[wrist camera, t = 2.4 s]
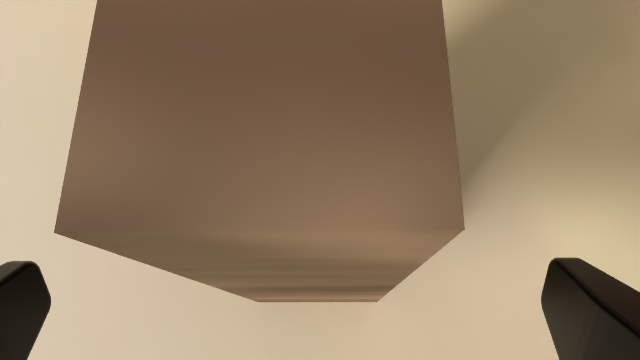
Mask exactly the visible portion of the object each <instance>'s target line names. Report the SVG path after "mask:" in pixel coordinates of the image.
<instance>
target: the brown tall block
mask: <svg viewBox="0 0 640 360" xmlns="http://www.w3.org/2000/svg"><path fill="white" fill-rule="evenodd" d="M464 229H465V227H464V217H463V207H462V197H461V187H460V177H459V167H458V157H457V147H456V137H455V127H454V117H453V107H452V98H451V88H450V78H449V68H448V58H447V48H446V38H445V28H444V18H443V8H442V0H97V5H96V10H95V15H94V21H93V26H92V31H91V37H90V42H89V48H88V53H87V58H86V64H85V69H84V75H83V80H82V85H81V91H80V96H79V101H78V107H77V112H76V118H75V123H74V128H73V134H72V139H71V144H70V150H69V155H68V161H67V166H66V171H65V177H64V182H63V187H62V193H61V198H60V204H59V209H58V214H57V220H56V225H55V230H54V233H57V234H60V235H63V236H65V237H68V238H71V239H74V240H77V241H80V242H83V243H86V244H89V245H92V246H95V247H98V248H101V249H104V250H107V251H110V252H113V253H115V254H118V255H121V256H124V257H127V258H130V259H133V260H136V261H139V262H142V263H145V264H148V265H151V266H154V267H157V268H160V269H163V270H166V271H168V272H171V273H174V274H177V275H180V276H183V277H186V278H189V279H192V280H195V281H198V282H201V283H204V284H207V285H210V286H213V287H216V288H218V289H221V290H224V291H227V292H230V293H233V294H236V295H239V296H242V297H245V298H248V299H251V300H254V301H257V302H377V301H378V300H380V299H381V298H382V297H383V296H384V295H386V294H387V293H388V292H389V291H390V290H392V289H393V288H394V287H395V286H396V285H398V284H399V283H400V282H401V281H402V280H404V279H405V278H406V277H407V276H409V275H410V274H411V273H412V272H413V271H415V270H416V269H417V268H418V267H419V266H421V265H422V264H423V263H424V262H425V261H427V260H428V259H429V258H430V257H431V256H433V255H434V254H435V253H436V252H437V251H439V250H440V249H441V248H442V247H444V246H445V245H446V244H447V243H448V242H450V241H451V240H452V239H453V238H454V237H456V236H457V235H458V234H459V233H460V232H462V231H463V230H464Z"/></svg>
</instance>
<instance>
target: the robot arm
mask: <svg viewBox="0 0 640 360" xmlns="http://www.w3.org/2000/svg"><path fill="white" fill-rule="evenodd" d="M541 304H542V309H543V312H544V315H545V318H546V321H547V324H548V327H549V330H550V333H551V336H552V339H553V342H554V345H555V348H556V351H557V354H558V357H559V360H640V292H638V291H637V290H635V289H633V288H631V287H630V286H628V285H626V284H624V283H622V282H621V281H619V280H617V279H615V278H614V277H612V276H610V275H608V274H606V273H605V272H603V271H601V270H599V269H597V268H596V267H594V266H592V265H590V264H589V263H587V262H585V261H583V260H581V259H579V258H555V259H553V260H551V262H550V264H549V266H548V270H547V275H546V279H545V283H544V287H543V291H542V296H541ZM50 306H51V296H50V293H49V291H48V288H47V286H46V283H45V281H44V278H43V275H42V273H41V270H40V268H39V266H38V265H37V264H36V263H35V262H32V261H11V262H7V263H5V264H3V265H0V360H27V359H28V356H29V354H30V352H31V350H32V348H33V345H34V343H35V341H36V339H37V337H38V334H39V332H40V330H41V328H42V326H43V323H44V321H45V319H46V317H47V315H48V312H49V310H50Z"/></svg>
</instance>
